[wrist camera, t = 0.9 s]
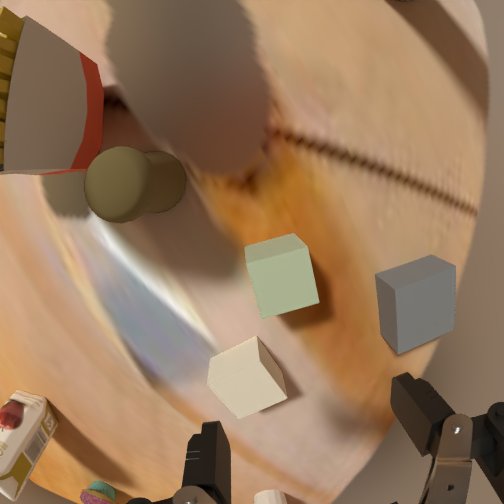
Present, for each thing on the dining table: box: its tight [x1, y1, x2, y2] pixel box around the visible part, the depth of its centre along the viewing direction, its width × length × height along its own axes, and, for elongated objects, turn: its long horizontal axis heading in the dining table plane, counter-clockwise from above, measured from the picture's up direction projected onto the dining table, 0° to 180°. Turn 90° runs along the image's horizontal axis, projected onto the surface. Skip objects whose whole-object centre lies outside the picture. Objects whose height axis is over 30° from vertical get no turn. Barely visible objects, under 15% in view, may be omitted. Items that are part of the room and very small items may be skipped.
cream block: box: [207, 335, 288, 419], centre depth 30 cm, size 6×6×5 cm
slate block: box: [375, 255, 456, 355], centre depth 29 cm, size 8×8×5 cm
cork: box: [84, 146, 186, 223], centre depth 22 cm, size 6×6×11 cm
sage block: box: [244, 233, 319, 319], centre depth 27 cm, size 5×5×6 cm
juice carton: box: [0, 390, 58, 502], centre depth 25 cm, size 8×9×19 cm
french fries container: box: [0, 6, 104, 175], centre depth 16 cm, size 5×11×18 cm, turn 0°
